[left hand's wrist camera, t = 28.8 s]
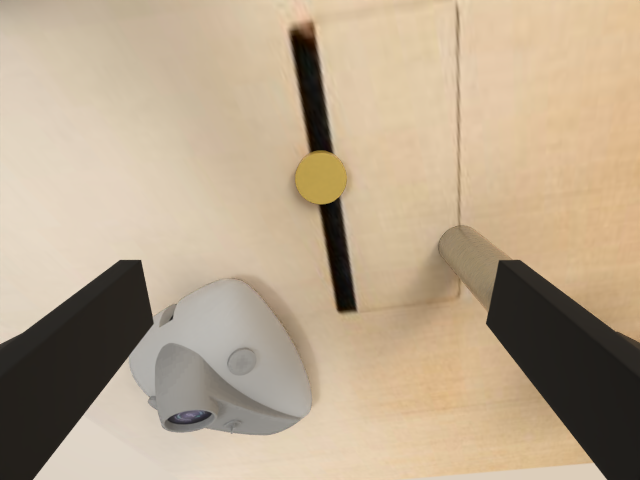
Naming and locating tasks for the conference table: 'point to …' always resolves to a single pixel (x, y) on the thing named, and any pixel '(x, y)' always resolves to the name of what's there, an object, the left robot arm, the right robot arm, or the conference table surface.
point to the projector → (222, 364)
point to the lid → (320, 177)
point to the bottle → (472, 260)
